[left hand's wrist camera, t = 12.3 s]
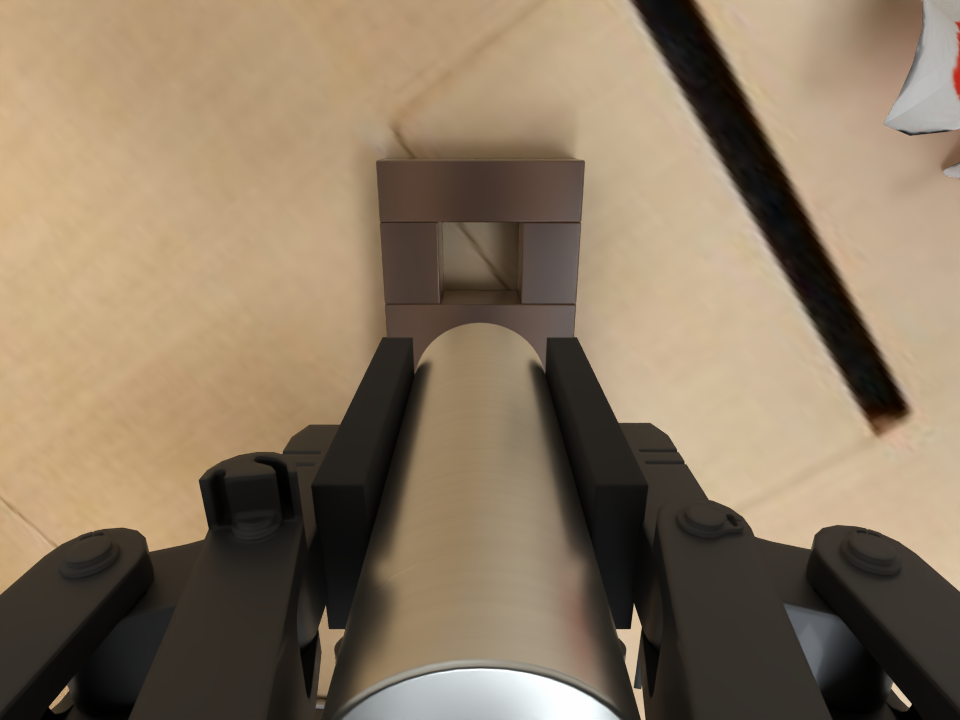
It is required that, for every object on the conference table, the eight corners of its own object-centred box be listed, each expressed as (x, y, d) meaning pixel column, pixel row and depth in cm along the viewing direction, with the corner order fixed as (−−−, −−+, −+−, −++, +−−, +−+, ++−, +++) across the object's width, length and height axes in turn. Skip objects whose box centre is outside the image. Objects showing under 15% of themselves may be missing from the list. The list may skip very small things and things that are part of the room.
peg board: (575, 158, 30) (612, 166, 22) (554, 533, 39) (574, 642, 30) (385, 158, 30) (348, 166, 22) (406, 533, 39) (386, 642, 30)
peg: (547, 321, 14) (675, 664, 5) (542, 441, 16) (635, 893, 6) (411, 321, 14) (287, 664, 5) (417, 441, 16) (325, 894, 6)
